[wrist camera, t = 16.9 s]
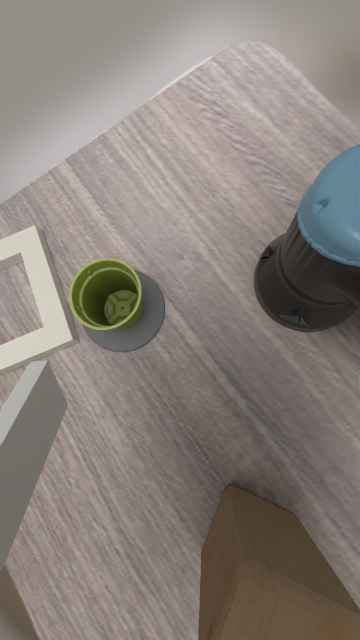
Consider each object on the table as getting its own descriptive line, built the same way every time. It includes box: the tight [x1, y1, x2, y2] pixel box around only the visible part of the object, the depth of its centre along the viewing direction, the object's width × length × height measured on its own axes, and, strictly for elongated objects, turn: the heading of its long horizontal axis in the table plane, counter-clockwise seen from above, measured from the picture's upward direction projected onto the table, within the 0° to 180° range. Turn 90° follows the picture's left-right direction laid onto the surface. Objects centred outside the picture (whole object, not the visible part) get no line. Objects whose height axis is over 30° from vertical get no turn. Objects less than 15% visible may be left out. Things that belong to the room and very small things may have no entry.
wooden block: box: [198, 486, 360, 640], centre depth 31 cm, size 10×10×20 cm
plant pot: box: [69, 258, 143, 330], centre depth 44 cm, size 9×9×9 cm
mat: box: [83, 270, 165, 352], centre depth 48 cm, size 13×13×1 cm
